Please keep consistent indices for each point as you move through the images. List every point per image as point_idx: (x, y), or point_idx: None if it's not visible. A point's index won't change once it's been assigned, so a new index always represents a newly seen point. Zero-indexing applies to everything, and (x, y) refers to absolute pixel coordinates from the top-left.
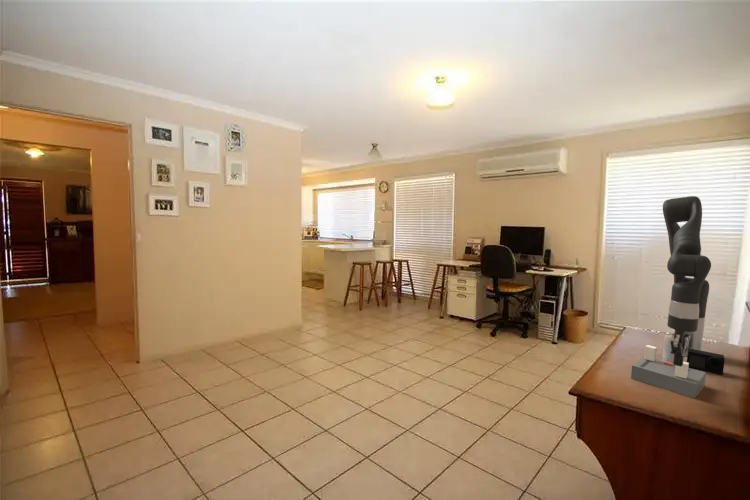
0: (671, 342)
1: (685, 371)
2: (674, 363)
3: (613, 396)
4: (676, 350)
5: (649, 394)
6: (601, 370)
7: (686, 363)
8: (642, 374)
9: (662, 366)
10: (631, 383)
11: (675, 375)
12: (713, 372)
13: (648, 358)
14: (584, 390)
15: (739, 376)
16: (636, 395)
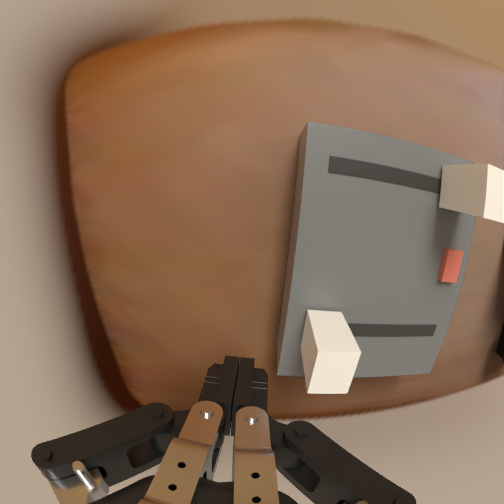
0: (34, 454)
1: (303, 365)
2: (214, 364)
3: (81, 146)
4: (156, 439)
5: (183, 224)
6: (287, 36)
7: (326, 389)
8: (299, 175)
9: (407, 247)
10: (240, 148)
11: (307, 314)
12: (501, 338)
13: (445, 183)
14: (67, 80)
15: (499, 372)
16: (138, 192)
